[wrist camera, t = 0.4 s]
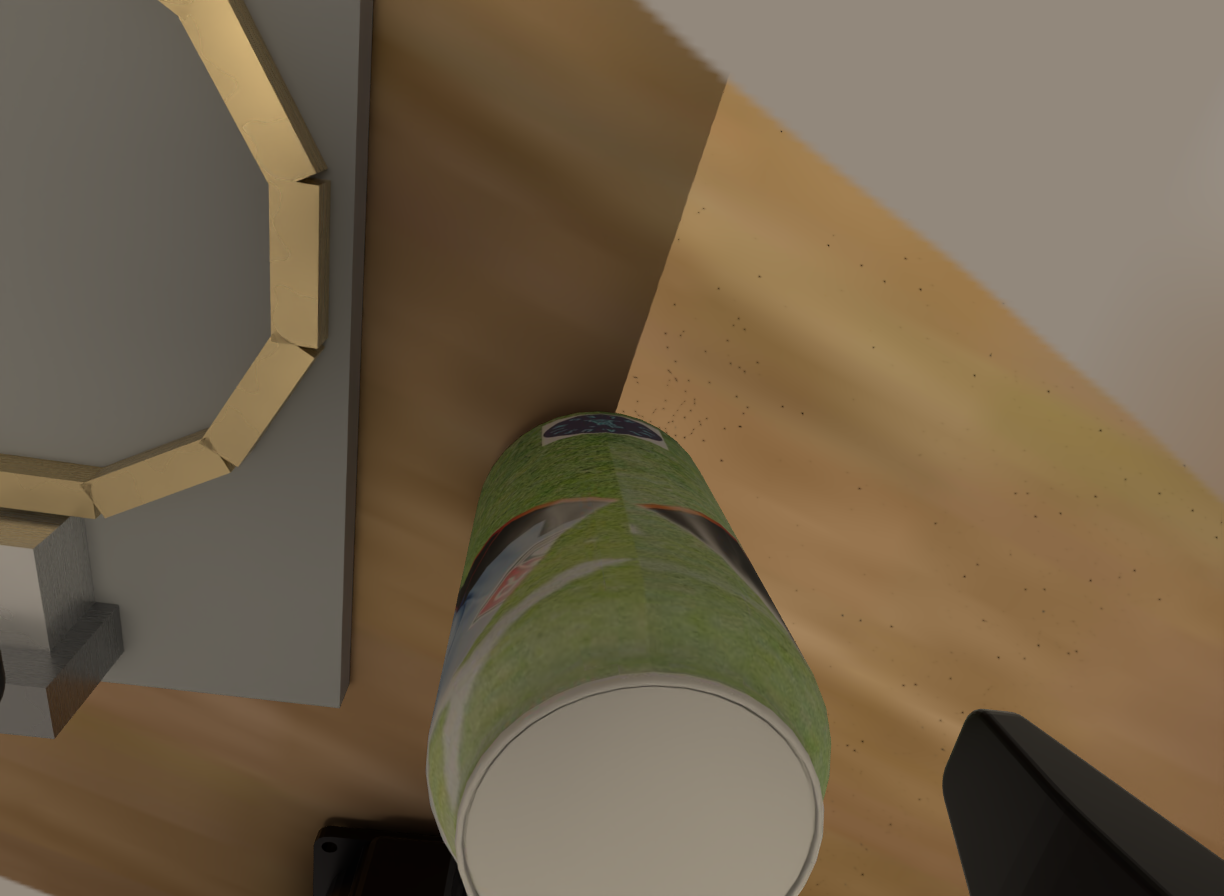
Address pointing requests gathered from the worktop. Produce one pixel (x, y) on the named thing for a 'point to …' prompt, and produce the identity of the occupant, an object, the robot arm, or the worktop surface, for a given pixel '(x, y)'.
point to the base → (184, 328)
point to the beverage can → (620, 685)
